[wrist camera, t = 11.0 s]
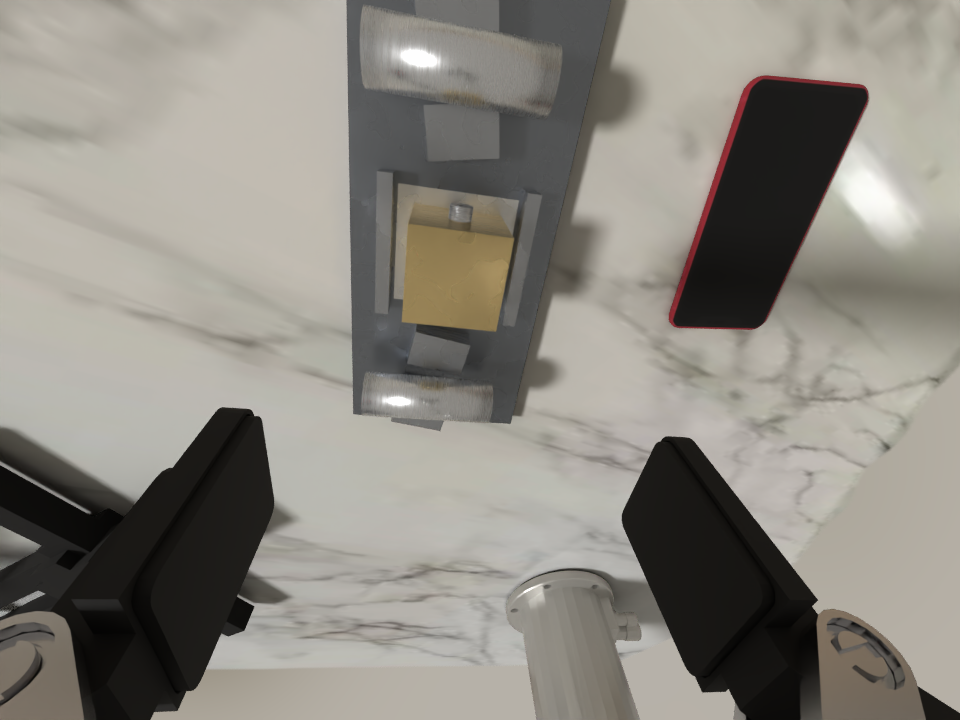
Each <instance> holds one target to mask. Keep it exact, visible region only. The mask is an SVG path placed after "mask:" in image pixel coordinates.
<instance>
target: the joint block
mask: <svg viewBox="0 0 960 720" xmlns="http://www.w3.org/2000/svg"><path fill="white" fill-rule="evenodd" d="M513 243H514V237H513V235H512V234H511V232H510V230H509V229H508V227H507V225H506V224H505V222H504V220H503V218H502V217H501V216H498V215H491V214H484V213H477V212H473V206H471V205H468V204H464V203H450V208H443V207H436V206H429V205H422V204H416V203H414V205H413V209H412V212H411V215H410V218H409V222H408V230H407V246H406V262H405V278H404V294H403V310H402V322H406V323H416V324H425V325H435V326H445V327H455V328H465V329H474V330H484V331H494V332H496V330H497V324H498V319H499V314H500V309H501V304H502V299H503V294H504V289H505V284H506V278H507V273H508V268H509V263H510V258H511V253H512V248H513Z"/></svg>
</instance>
